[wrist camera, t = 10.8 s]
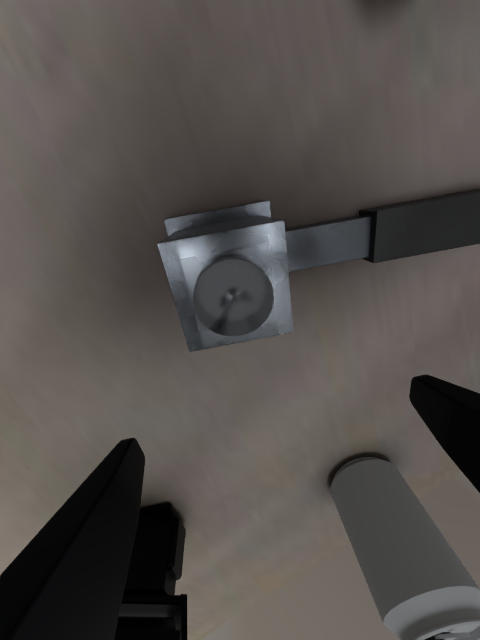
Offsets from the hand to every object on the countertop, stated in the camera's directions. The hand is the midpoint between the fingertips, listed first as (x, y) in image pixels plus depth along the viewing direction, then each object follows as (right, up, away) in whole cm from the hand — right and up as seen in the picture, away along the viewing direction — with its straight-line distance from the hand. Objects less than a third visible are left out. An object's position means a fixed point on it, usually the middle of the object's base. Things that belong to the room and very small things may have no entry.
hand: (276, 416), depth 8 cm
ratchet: (+5, +8, +9) cm, 13 cm away
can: (+12, -14, +20) cm, 27 cm away
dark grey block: (-2, +6, +7) cm, 10 cm away
